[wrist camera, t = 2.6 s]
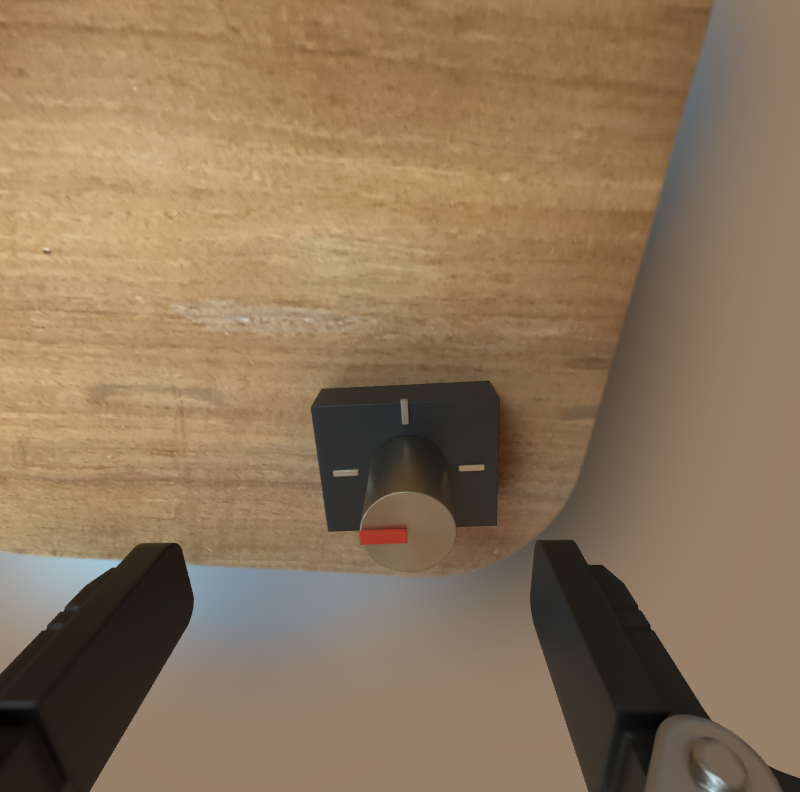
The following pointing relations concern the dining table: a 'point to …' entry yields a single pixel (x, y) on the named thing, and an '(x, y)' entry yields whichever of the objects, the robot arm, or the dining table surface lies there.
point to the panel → (408, 416)
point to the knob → (408, 506)
